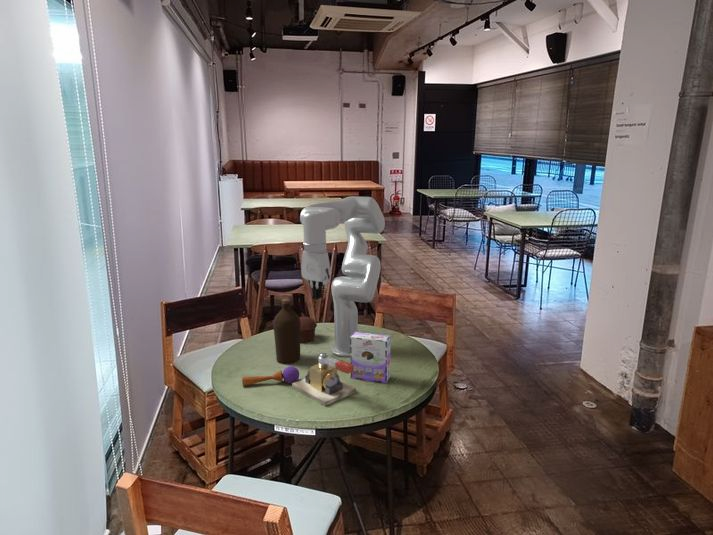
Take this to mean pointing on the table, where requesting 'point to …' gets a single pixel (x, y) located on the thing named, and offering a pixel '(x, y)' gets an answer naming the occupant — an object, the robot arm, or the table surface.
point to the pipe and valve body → (324, 379)
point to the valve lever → (334, 363)
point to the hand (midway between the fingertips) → (317, 297)
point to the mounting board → (322, 396)
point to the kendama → (275, 377)
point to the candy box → (370, 357)
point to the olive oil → (287, 334)
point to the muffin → (307, 329)
